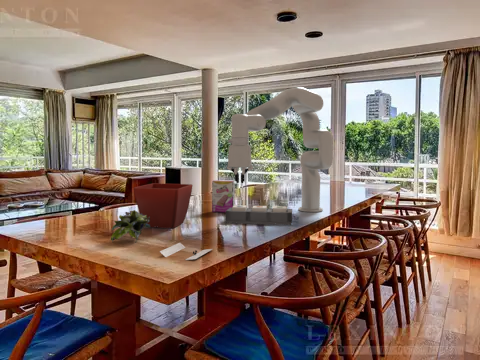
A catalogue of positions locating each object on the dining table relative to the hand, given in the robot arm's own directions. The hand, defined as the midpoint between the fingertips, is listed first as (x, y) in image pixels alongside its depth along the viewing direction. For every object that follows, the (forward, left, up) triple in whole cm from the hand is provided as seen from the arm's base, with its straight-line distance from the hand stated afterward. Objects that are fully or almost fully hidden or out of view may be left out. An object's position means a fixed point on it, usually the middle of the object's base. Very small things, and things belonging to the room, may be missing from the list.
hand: (239, 183), depth 163 cm
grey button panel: (0, +9, -17) cm, 19 cm away
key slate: (0, 0, -14) cm, 14 cm away
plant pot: (+15, -30, -17) cm, 38 cm away
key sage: (0, +18, -14) cm, 23 cm away
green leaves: (+42, -32, -17) cm, 56 cm away
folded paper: (+55, -8, -18) cm, 58 cm away
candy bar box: (-22, -12, -17) cm, 30 cm away
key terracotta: (0, +9, -14) cm, 16 cm away
